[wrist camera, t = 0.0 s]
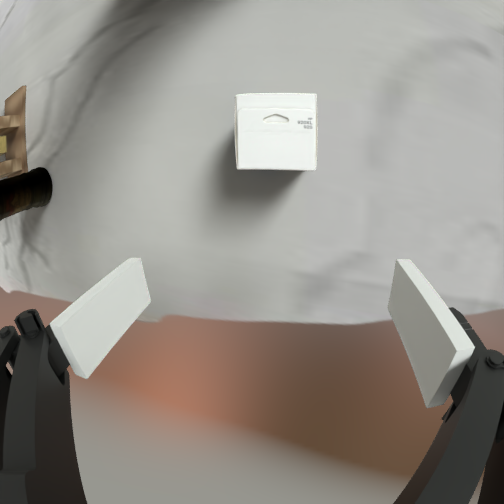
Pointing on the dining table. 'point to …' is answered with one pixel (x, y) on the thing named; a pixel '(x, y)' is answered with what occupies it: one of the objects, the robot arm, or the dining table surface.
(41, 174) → the container
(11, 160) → the bearing rig
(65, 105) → the dining table surface
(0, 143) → the spacer
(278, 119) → the ink box
